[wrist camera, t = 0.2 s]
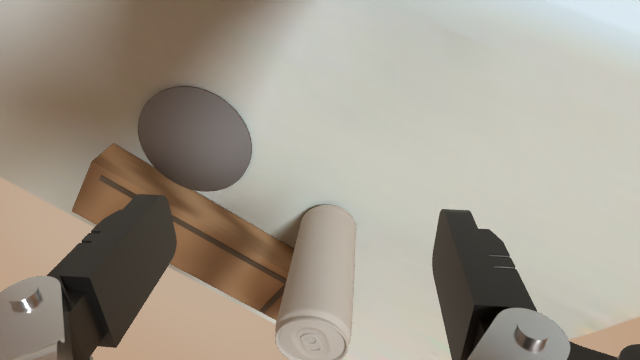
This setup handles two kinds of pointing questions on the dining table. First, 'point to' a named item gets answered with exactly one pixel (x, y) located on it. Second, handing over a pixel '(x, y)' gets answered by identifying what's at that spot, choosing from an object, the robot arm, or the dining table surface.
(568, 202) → the dining table surface
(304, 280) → the beverage can
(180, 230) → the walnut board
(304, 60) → the dining table surface
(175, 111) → the end pad
